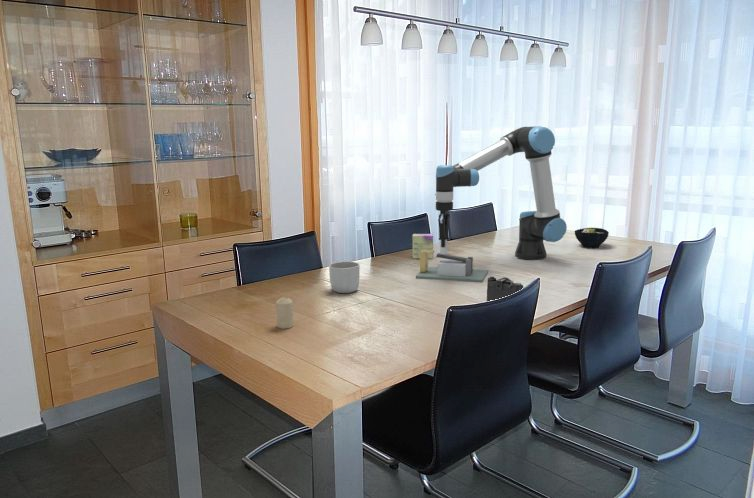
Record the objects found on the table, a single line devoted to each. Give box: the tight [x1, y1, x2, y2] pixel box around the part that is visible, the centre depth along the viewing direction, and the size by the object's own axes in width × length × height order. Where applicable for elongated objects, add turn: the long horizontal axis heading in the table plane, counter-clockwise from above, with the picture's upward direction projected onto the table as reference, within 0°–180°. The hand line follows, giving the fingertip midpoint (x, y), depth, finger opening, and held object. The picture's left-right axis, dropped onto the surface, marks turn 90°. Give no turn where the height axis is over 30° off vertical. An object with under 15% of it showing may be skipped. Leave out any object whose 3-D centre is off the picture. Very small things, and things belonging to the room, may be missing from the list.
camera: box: [486, 275, 524, 302], centre depth 217 cm, size 14×11×10 cm
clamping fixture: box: [415, 256, 489, 283], centre depth 260 cm, size 29×18×8 cm, turn 72°
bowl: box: [574, 227, 610, 249], centre depth 312 cm, size 17×17×10 cm
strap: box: [435, 252, 472, 262], centre depth 259 cm, size 15×3×1 cm, turn 72°
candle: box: [275, 296, 295, 329], centre depth 197 cm, size 6×6×10 cm
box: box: [412, 233, 434, 260], centre depth 296 cm, size 10×6×12 cm, turn 84°
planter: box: [328, 261, 360, 294], centre depth 239 cm, size 12×12×11 cm
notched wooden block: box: [419, 249, 435, 272], centre depth 263 cm, size 5×5×9 cm
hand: (443, 254), depth 260 cm, fingers closed
